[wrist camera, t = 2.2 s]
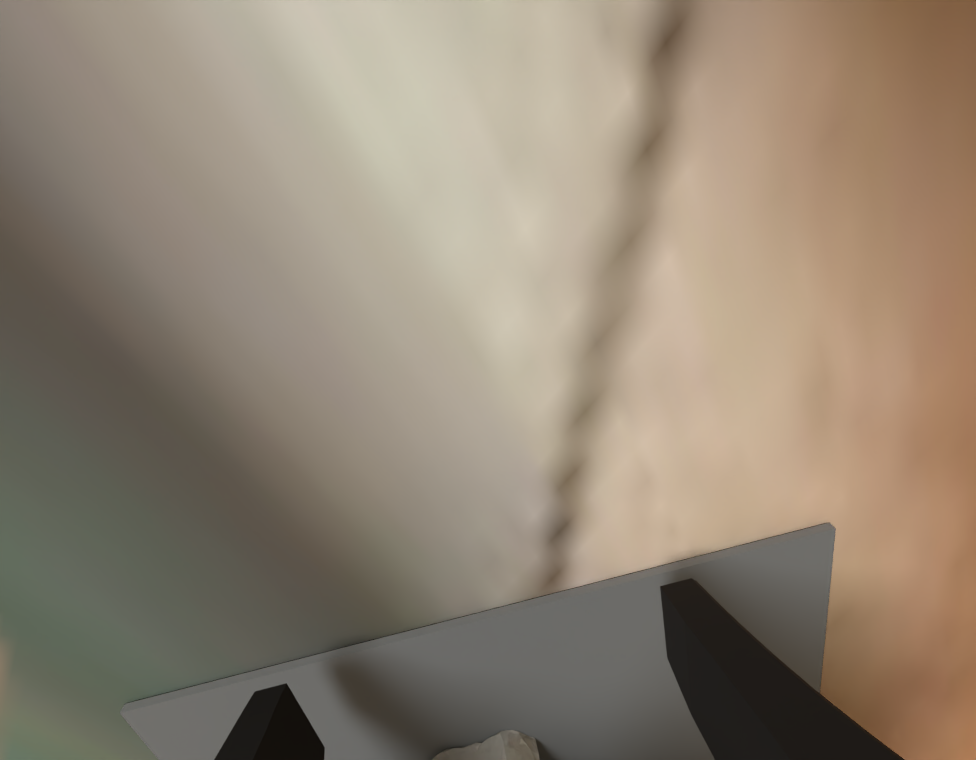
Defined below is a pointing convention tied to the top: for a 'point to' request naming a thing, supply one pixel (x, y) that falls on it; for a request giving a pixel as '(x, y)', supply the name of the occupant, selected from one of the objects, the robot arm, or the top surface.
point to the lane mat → (526, 669)
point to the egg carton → (496, 748)
